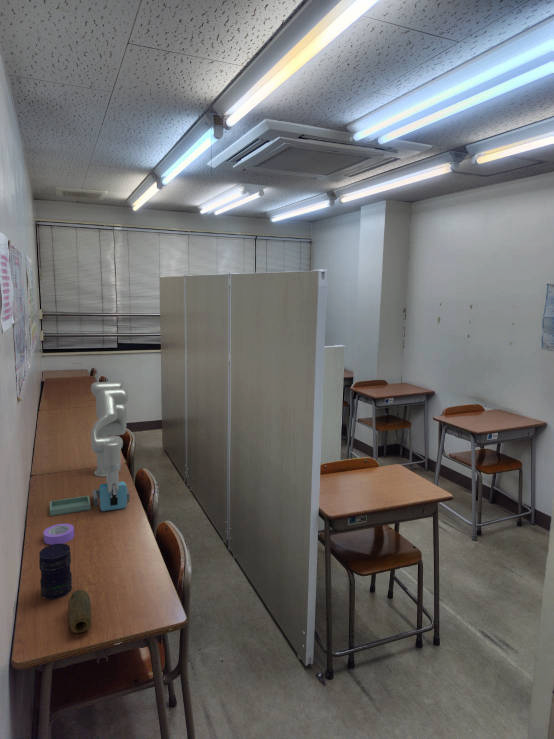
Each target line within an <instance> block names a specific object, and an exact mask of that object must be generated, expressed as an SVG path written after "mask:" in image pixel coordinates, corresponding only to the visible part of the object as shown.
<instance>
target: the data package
mask: <svg viewBox="0 0 554 739" xmlns="http://www.w3.org/2000/svg"><path fill="white" fill-rule="evenodd" d="M126 485H127V483H126V482H125V481H119V489H118V491H117V499H118V504H117V505H113V506H111V505H110V497H111V492H109V493H108V492H107V484H106V483H102V484H100V485H99V489H100V498H99V507H100V510H101V511H102V512H106V511H107V512H108V511H113V510H114V511H115V510H121V509H125V508H126V507H127V506H128V503H127V502H128V501H127V489H126ZM112 491H113V490H112ZM112 494H113V493H112Z"/></svg>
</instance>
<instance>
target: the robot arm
mask: <svg viewBox="0 0 554 739" xmlns="http://www.w3.org/2000/svg"><path fill="white" fill-rule="evenodd" d="M126 386H127V385H126V384H125V382H124V381H95V382H93V383H92V384H91V385H90V390H91V393H92V395H93V396H94V397H95V400H96V401H95V403H96V404H95V406H96V407H95V409H96V412H95V413H96V417H97V419H98V420H97V421H96V422H95V423H94V424H93V426H92V428H91V430H90V431H91V432H90V439H91V440H90V442H91V444H90V445H91V451H93V453H94V454H96V469H95V470H94V472H93V474H94V476H96V477H101V478H102V477H103V478H105V484H107V492H108V493H109V492H111V497H110V505H111V506H113V505H117V504H118V499H117V491H118V489H119V482H120V481H119V480H120V479H119V472H120V471H121V470H122V469H121V468H122V466H121V465H122V464H121V462H122V461H121V450H122V448H123V445H124V441H123V438H122V437H120V436H121V435H125V433H126V432H127V407H126V404H127V403H128V400H129V393H128V388H127V387H126ZM112 490H113V491H112ZM112 493H113V494H112Z"/></svg>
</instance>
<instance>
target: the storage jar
mask: <svg viewBox="0 0 554 739" xmlns="http://www.w3.org/2000/svg"><path fill="white" fill-rule="evenodd" d="M38 556H39V560H38V562H39V570H40V580H39V581H40V583H39V584H40V590H41V597H42V596H43V597H45V598H47V599H46V600H56V598H58V599H61V598H64V597H65V596H67V595H68V594H69V593H70V592H71V591H72V589H73V585H72V582H73V578H72V576H73V575H72V571H71V564H72V557H71V556H72V555H71V548H70V545H68V544H66V543H63V544H53V545H48V546H45V547H43V548H42V549H41V550H40V551H39V553H38ZM43 597H42V598H43ZM60 597H61V598H60ZM45 598H44V599H45Z"/></svg>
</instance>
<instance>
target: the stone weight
mask: <svg viewBox="0 0 554 739" xmlns="http://www.w3.org/2000/svg"><path fill="white" fill-rule="evenodd" d="M67 606H68V607H67V608H68V613H67V614H68V616H67V617H68V625H69V629H70V631H71V632H72V633H74V634H79V633H84V632H86V631H88V630H89V629H90V628H91V625H92V606H91V600H90V594H89V593H88V591H86V590H84V589H78V590H75V591H74V592H73V593H72V594H71V595H70V596H69V600H68V605H67Z"/></svg>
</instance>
